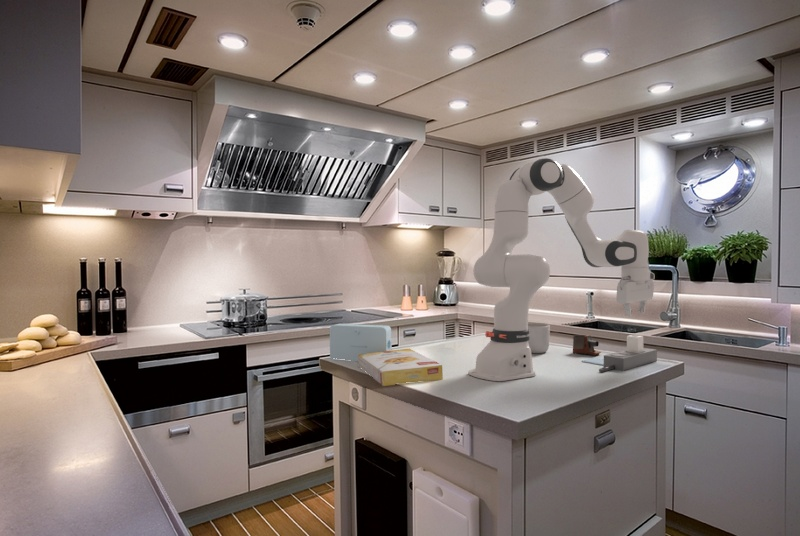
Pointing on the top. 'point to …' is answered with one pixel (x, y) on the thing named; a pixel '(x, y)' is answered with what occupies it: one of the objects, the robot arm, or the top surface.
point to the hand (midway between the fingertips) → (635, 314)
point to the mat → (594, 361)
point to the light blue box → (358, 340)
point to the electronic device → (585, 345)
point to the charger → (635, 343)
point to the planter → (539, 337)
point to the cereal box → (399, 367)
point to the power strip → (628, 359)
